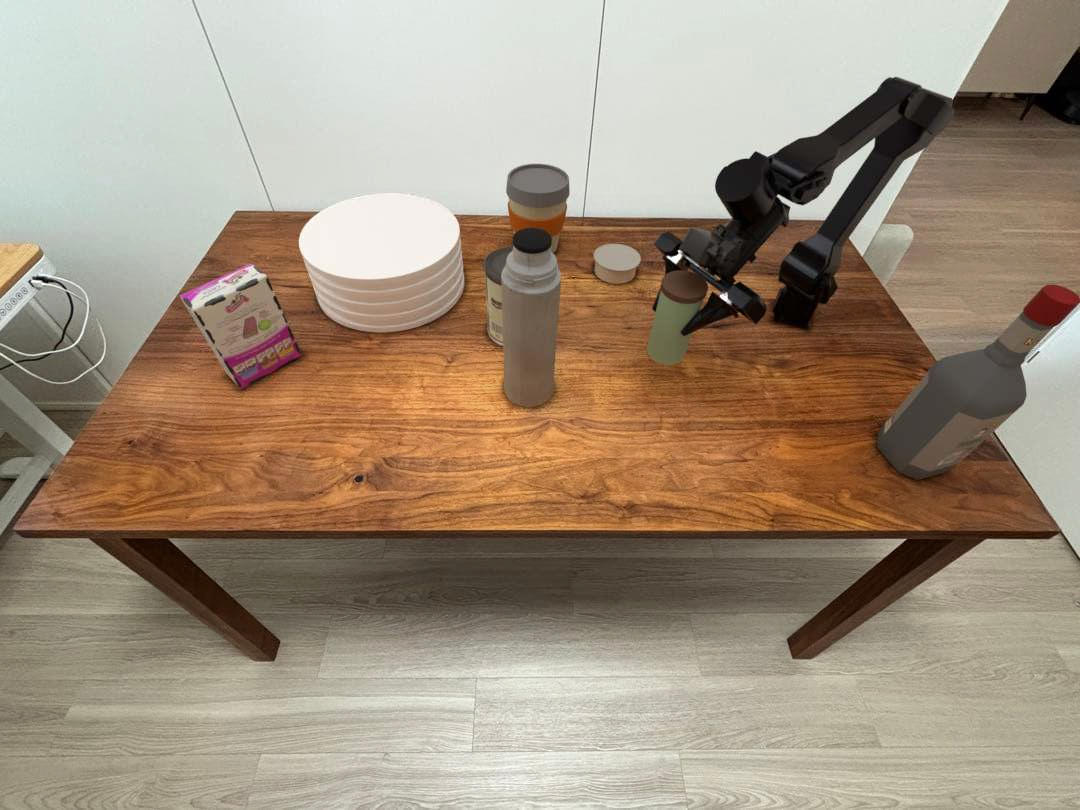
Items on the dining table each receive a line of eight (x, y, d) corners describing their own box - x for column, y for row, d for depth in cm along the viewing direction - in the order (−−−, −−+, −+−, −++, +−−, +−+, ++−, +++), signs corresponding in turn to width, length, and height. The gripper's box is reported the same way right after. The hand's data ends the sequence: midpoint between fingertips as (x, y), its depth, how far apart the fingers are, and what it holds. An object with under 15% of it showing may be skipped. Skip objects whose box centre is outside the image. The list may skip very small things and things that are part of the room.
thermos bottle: (514, 366, 91) (513, 214, 70) (559, 378, 89) (572, 226, 68) (496, 399, 86) (490, 246, 65) (543, 412, 84) (552, 260, 63)
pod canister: (689, 344, 86) (711, 276, 76) (681, 370, 82) (703, 303, 72) (650, 333, 87) (667, 265, 77) (640, 359, 83) (657, 291, 73)
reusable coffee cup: (505, 230, 118) (503, 163, 107) (561, 229, 120) (565, 162, 108) (509, 263, 110) (508, 194, 99) (569, 261, 112) (575, 193, 100)
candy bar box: (287, 342, 93) (252, 261, 81) (303, 356, 91) (269, 275, 78) (225, 375, 87) (176, 293, 75) (240, 391, 85) (193, 309, 73)
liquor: (957, 471, 80) (1132, 313, 57) (906, 485, 78) (1067, 328, 55) (913, 425, 85) (1056, 265, 63) (865, 437, 83) (995, 276, 61)
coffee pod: (641, 263, 112) (644, 249, 109) (632, 289, 106) (635, 274, 103) (598, 254, 114) (600, 239, 111) (586, 279, 108) (588, 264, 105)
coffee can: (548, 316, 100) (552, 250, 89) (537, 353, 93) (540, 286, 83) (495, 307, 101) (492, 241, 90) (480, 343, 94) (475, 276, 84)
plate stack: (490, 299, 103) (488, 246, 94) (350, 353, 92) (332, 299, 83) (425, 231, 117) (417, 180, 109) (297, 270, 106) (277, 217, 98)
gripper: (677, 176, 73) (603, 269, 78) (784, 242, 63) (692, 344, 68) (703, 214, 82) (636, 295, 86) (801, 278, 72) (719, 365, 76)
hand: (667, 322), depth 79 cm, fingers closed on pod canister, 6 cm apart
